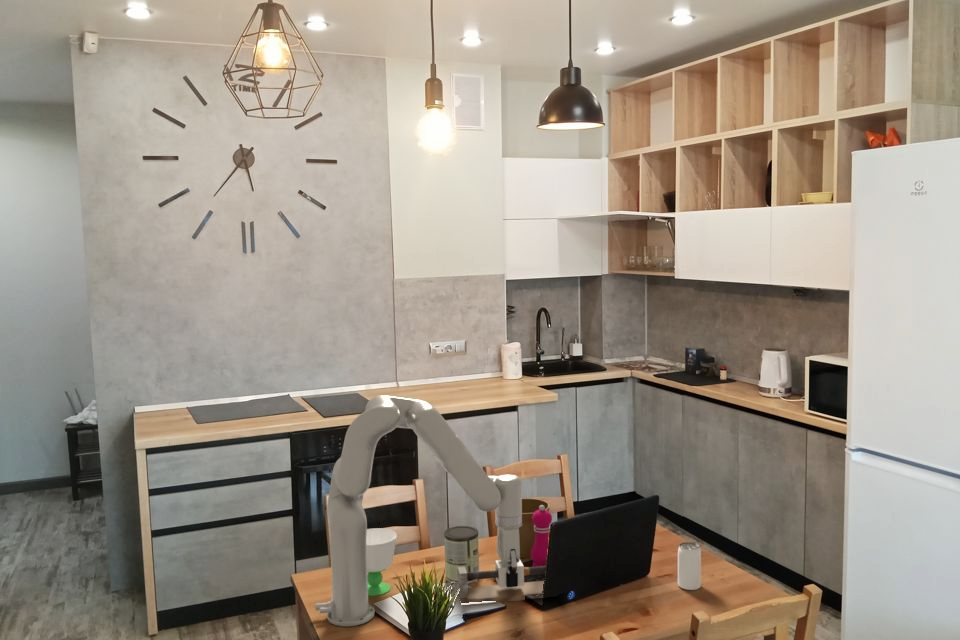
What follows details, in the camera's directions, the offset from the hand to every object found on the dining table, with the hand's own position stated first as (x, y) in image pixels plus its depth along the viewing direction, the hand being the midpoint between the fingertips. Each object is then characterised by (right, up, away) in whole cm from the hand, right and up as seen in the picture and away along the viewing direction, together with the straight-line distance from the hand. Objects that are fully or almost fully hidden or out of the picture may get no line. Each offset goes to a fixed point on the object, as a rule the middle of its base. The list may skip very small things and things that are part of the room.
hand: (509, 581), depth 226 cm
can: (+52, -3, +4) cm, 52 cm away
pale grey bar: (0, -4, 0) cm, 4 cm away
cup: (-39, -5, +6) cm, 40 cm away
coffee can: (-14, -3, +13) cm, 19 cm away
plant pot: (+7, -1, +31) cm, 32 cm away
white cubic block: (0, 0, 0) cm, 0 cm away
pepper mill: (+11, -2, +18) cm, 21 cm away
